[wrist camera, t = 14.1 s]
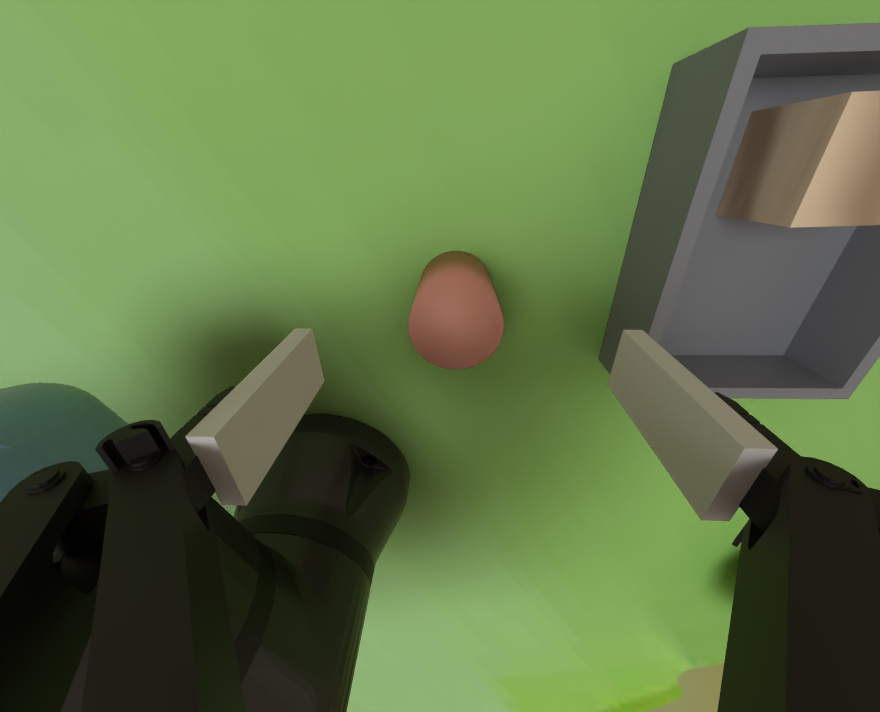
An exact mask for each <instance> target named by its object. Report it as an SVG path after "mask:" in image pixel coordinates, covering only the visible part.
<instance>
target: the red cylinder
mask: <svg viewBox="0 0 880 712" xmlns="http://www.w3.org/2000/svg"><path fill="white" fill-rule="evenodd" d="M408 331H409V336H410V340H411V342H412V344H413V346H414V348H415V349H416V350H417V352H418V353H419V354H420V355H421V356H422V357H423V358H424V359H426V360H427V361H428V362H430V363H432V364H434V365H436V366H439V367H442V368H447V369H465V368H469V367H473V366H475V365H478V364H480V363H481V362H483V361H485V360H486V359H487V358H489V357H490V356H491V355H492V354H493V353H494V351H495V350H496V349H497V347H498V346H499V344H500V341H501V339H502V336H503V331H504V320H503V315H502V311H501V308H500V305H499V302H498V299H497V296H496V294H495V291H494V288H493V285H492V282H491V279H490V276H489V273H488V271H487V269H486V267H485V266H484V264H483V263H482V262H481V261H480V260H479V259H478V258H476V257H475V256H473V255H471V254H469V253H466V252H462V251H450V252H445V253H443V254H440V255H438V256H437V257H435V258H434V259H432V260H431V261H430V262H429V263H428V265H427V266H426V267H425V269H424V271H423V273H422V276H421V279H420V283H419V286H418V289H417V293H416V296H415V299H414V302H413V306H412V309H411V312H410V316H409V321H408Z"/></svg>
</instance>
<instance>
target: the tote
mask: <svg viewBox="0 0 880 712" xmlns="http://www.w3.org/2000/svg"><path fill="white" fill-rule="evenodd" d="M860 91H880V23H862V24H835V25H807V26H779V27H751V28H747V29H745V30H743V31H741V32H739V33H737V34H734V35H732V36H730V37H728V38H726V39H724V40H722V41H720V42H718V43H716V44H714V45H712V46H710V47H708V48H705V49H703V50H701V51H699V52H697V53H695V54H693V55H691V56H689V57H687V58H685V59H683V60H681V61H679V62H677V63H674V64H673V67H672V71H671V75H670V79H669V83H668V87H667V91H666V95H665V99H664V103H663V106H662V110H661V114H660V118H659V122H658V126H657V130H656V134H655V138H654V142H653V146H652V150H651V154H650V158H649V162H648V166H647V170H646V174H645V177H644V181H643V185H642V189H641V193H640V197H639V201H638V205H637V209H636V213H635V217H634V221H633V225H632V229H631V233H630V237H629V241H628V245H627V248H626V252H625V256H624V260H623V264H622V268H621V272H620V276H619V280H618V284H617V288H616V292H615V296H614V300H613V304H612V308H611V312H610V316H609V319H608V323H607V327H606V331H605V335H604V339H603V343H602V347H601V351H600V355H599V360H600V362H601V363H602V364H603V365H604V367H605V368H606V369H607V371H608V372H609V373H610V374H611V371H612V367H613V364H614V360H615V357H616V353H617V350H618V346H619V343H620V339H621V336H622V332H623V330H643V331H644V332H645V333H646V334H648V335H649V336H650V337H651V338H652V339H653V340H654V341H656V342H657V343H658V344H659V345H660V346H661V347H662V348H664V349H665V350H666V351H667V352H668V353H669V354H670V355H672V356H673V357H674V358H675V359H676V360H677V361H678V362H680V363H681V364H682V365H683V366H684V367H685V368H686V369H687V370H689V371H690V372H691V373H692V374H693V375H694V376H695V377H697V378H698V379H699V380H700V381H701V382H702V383H703V384H705V385H706V386H707V387H708V388H709V389H710V390H711V391H713V392H719V393H720V394H722V395H724V396H726V397H728V398H766V399H849V397H850V396H851V395H852V393H853V392H854V391H855V389H856V388H857V387H858V385H859V384H860V382H861V381H862V380H863V378H864V377H865V376H866V374H867V373H868V372H869V370H870V369H871V367H872V366H873V365H874V363H875V362H876V361H877V359H878V358H879V357H880V225H865V226H830V227H796V228H789V227H783V226H777V225H771V224H765V223H760V222H754V221H748V220H742V219H736V218H730V217H725V216H719V215H716V212H717V209H718V206H719V203H720V201H721V198H722V195H723V192H724V189H725V186H726V183H727V181H728V178H729V175H730V172H731V169H732V166H733V163H734V160H735V158H736V155H737V152H738V149H739V146H740V143H741V140H742V138H743V135H744V132H745V129H746V126H747V123H748V120H749V118H750V115H751V112H752V111H758V110H763V109H768V108H773V107H778V106H783V105H788V104H793V103H798V102H803V101H808V100H814V99H819V98H824V97H829V96H834V95H839V94H844V93H849V92H860Z"/></svg>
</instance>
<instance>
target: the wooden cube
mask: <svg viewBox="0 0 880 712" xmlns="http://www.w3.org/2000/svg"><path fill="white" fill-rule="evenodd" d="M716 215H719V216H725V217H730V218H736V219H742V220H748V221H754V222H760V223H765V224H771V225H777V226H783V227H789V228H796V227H830V226H865V225H880V91H860V92H849V93H844V94H839V95H834V96H829V97H824V98H819V99H814V100H808V101H803V102H798V103H793V104H788V105H783V106H778V107H773V108H768V109H763V110H758V111H752V112H751V115H750V118H749V120H748V123H747V126H746V129H745V132H744V135H743V138H742V140H741V143H740V146H739V149H738V152H737V155H736V158H735V160H734V163H733V166H732V169H731V172H730V175H729V178H728V181H727V183H726V186H725V189H724V192H723V195H722V198H721V201H720V203H719V206H718V209H717V212H716Z"/></svg>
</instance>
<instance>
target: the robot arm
mask: <svg viewBox="0 0 880 712" xmlns="http://www.w3.org/2000/svg"><path fill="white" fill-rule="evenodd" d="M323 383H324V377H323V372H322V368H321V364H320V359H319V355H318V351H317V346H316V342H315V338H314V333H313V329H312V328H295V329H294V330H293V331H292V332H291V333H290V334H289V335H288V336H287V337H286V338H285V339H284V340H283V341H282V342H281V343H280V344H279V345H278V346H277V347H276V348H275V349H274V350H273V351H272V352H271V353H270V354H269V355H268V356H267V357H266V358H264V359H263V360H262V361H261V362H260V363H259V364H258V365H257V366H256V367H255V368H254V369H253V370H252V371H251V372H250V373H249V374H248V375H247V376H246V377H245V378H244V379H243V380H242V381H241V382H240V383H239V384H238V385H237V386H236V387H230V388H228V389H226V390H225V391H223V392H221V393H219V394H218V395H216V396H215V397H214V398H213V399H212V400H211V401H210V402H209V403H208V404H207V405H206V407H203V408H202V409H201V410H200V411H199V412H198V413H197V415H195V416H194V417H193V418H192V419H191V420H190V421H189V422H188V423H186V424H185V425H184V426H183V427H182V428H181V429H180V430H179V431H178V432H177V433H176V434H175V435H174V436H173V437H172V438H169V437H168V435H167V433H166V431H165V430H164V428H163V426H162V424H161V423H160V422H159V421H155V420H144V421H139V422H135V423H131V424H128V423H127V422H126V421H124V420H123V419H122V418H121V417H119V416H118V415H117V414H116V413H114V412H113V411H112V410H111V409H109V408H108V407H107V406H106V405H105V404H103V403H102V402H101V401H100V400H98V399H97V398H96V397H94V396H93V395H91V394H90V393H88V392H86V391H84V390H81V389H79V388H76V387H73V386H69V385H64V384H57V383H30V384H23V385H17V386H12V387H8V388H4V389H0V712H346V711H347V706H348V701H349V696H350V691H351V686H352V681H353V676H354V670H355V665H356V660H357V655H358V650H359V645H360V640H361V635H362V630H363V624H364V619H365V614H366V609H367V604H368V599H369V594H370V588H371V583H372V578H373V573H374V568H375V564H376V561H377V559H378V558H379V556H380V554H381V552H382V550H383V548H384V546H385V544H386V542H387V541H388V539H389V537H390V535H391V533H392V531H393V529H394V527H395V525H396V524H397V522H398V520H399V518H400V516H401V514H402V512H403V510H404V507H405V504H406V500H407V494H408V487H409V470H408V466H407V463H406V461H405V459H404V457H403V455H402V454H401V452H400V451H399V450H398V449H397V447H396V446H395V445H394V444H393V443H392V442H391V441H390V440H389V439H387V438H386V437H385V436H384V435H382V434H381V433H379V432H378V431H376V430H375V429H373V428H371V427H369V426H367V425H365V424H363V423H360V422H357V421H355V420H352V419H348V418H344V417H340V416H334V415H322V414H313V415H304V413H305V412H306V410H307V409H308V407H309V405H310V404H311V402H312V401H313V399H314V397H315V396H316V394H317V393H318V391H319V389H320V388H321V386H322V385H323ZM608 386H609V388H610V389H611V391H612V392H613V393H614V395H615V396H616V398H617V399H618V401H619V402H620V404H621V405H622V406H623V408H624V409H625V411H626V412H627V414H628V415H629V417H630V418H631V419H632V421H633V422H634V424H635V425H636V427H637V428H638V430H639V431H640V432H641V434H642V435H643V437H644V438H645V440H646V441H647V443H648V444H649V446H650V447H651V448H652V450H653V451H654V453H655V454H656V456H657V457H658V459H659V460H660V461H661V463H662V464H663V466H664V467H665V469H666V470H667V472H668V473H669V474H670V476H671V477H672V479H673V480H674V482H675V483H676V485H677V486H678V488H679V489H680V490H681V492H682V493H683V495H684V496H685V498H686V499H687V501H688V502H689V503H690V505H691V506H692V508H693V509H694V511H695V512H696V514H697V515H698V516H699V518H700V519H701V520H712V521H730V520H731V518H732V517H733V515H734V514H735V512H736V511H737V509H738V508H739V506H740V508H741V509H742V510H743V511H744V512H745V514H746V515H747V516H748V517H749V518H750V519H749V520H748V522H747V523H746V525H745V526H744V527H743V529H742V530H741V531H740V533H739V534H738V536H737V537H736V538H735V540H734V541H733V543H732V545H734V546H736V547H737V546H738V545H739V543H740V542H742V543H741V550H740V557H739V564H738V571H737V578H736V585H735V592H734V599H733V606H732V614H731V621H730V628H729V635H728V642H727V649H726V656H725V663H724V671H723V677H722V684H721V691H720V698H719V705H718V712H880V490H877V489H872V488H868V487H866V485H864V484H863V483H862V482H861V481H860V480H859V479H858V478H856V477H855V476H854V475H852V474H850V473H849V472H847V471H845V470H844V469H842V468H840V467H838V466H835V465H833V464H831V463H829V462H826V461H823V460H819V459H816V458H811V457H801V456H800V455H798V454H797V453H796V452H795V451H794V450H792V449H791V448H790V447H789V446H788V445H786V444H785V443H784V442H783V441H782V440H781V439H779V438H778V437H777V436H776V435H775V434H773V433H772V432H771V431H770V430H769V429H767V428H766V427H765V426H764V425H762V424H760V422H759V421H758V420H757V419H756V418H754V417H753V416H752V415H749V413H748V412H747V411H746V410H745V409H744V408H742V407H741V406H740V405H739V404H738V403H737V402H735V401H733V400H731V399H730V398H728V397H726V396H724V395H722V394H720V393H719V392H713V391H711V390H710V389H709V388H708V387H707V386H706V385H705V384H703V383H702V382H701V381H700V380H699V379H698V378H697V377H695V376H694V375H693V374H692V373H691V372H690V371H689V370H687V369H686V368H685V367H684V366H683V365H682V364H681V363H680V362H678V361H677V360H676V359H675V358H674V357H673V356H672V355H670V354H669V353H668V352H667V351H666V350H665V349H664V348H662V347H661V346H660V345H659V344H658V343H657V342H656V341H654V340H653V339H652V338H651V337H650V336H649V335H648V334H646V333H645V332H644V331H643V330H623V332H622V336H621V339H620V343H619V346H618V350H617V353H616V357H615V360H614V364H613V367H612V371H611V374H610V378H609V381H608ZM303 415H304V416H303ZM214 492H215V493H216V495H217V496H218V498H219V500H220V502H221V504H222V505H236V509H235V513H234V517H233V516H232V515H231V514H230V513H228V512H227V511H226V510H225V509H224V508H223V507H222V506H221V505H220V504H219V503H217V502H216V501H215V500H214V499H213V498H212V497H211V496H212V495H213V494H214Z"/></svg>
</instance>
